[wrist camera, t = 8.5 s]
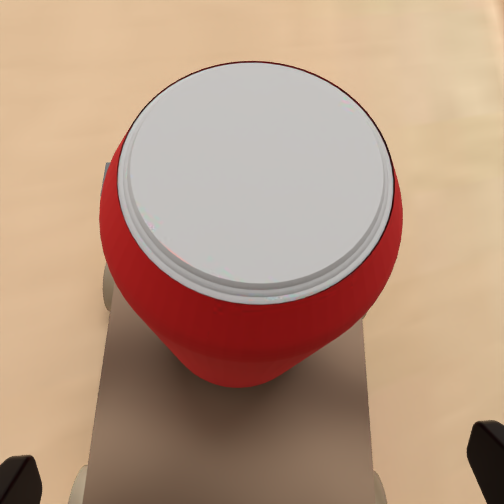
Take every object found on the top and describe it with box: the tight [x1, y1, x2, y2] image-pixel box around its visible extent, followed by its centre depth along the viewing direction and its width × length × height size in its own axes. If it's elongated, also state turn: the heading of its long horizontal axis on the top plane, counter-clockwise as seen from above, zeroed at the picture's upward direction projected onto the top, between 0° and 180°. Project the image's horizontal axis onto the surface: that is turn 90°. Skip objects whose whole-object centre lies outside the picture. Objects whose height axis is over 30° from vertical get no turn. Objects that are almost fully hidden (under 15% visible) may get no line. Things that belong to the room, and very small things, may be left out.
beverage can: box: [99, 61, 403, 388], centre depth 13 cm, size 6×6×12 cm
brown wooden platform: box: [68, 163, 387, 504], centre depth 18 cm, size 16×13×8 cm
